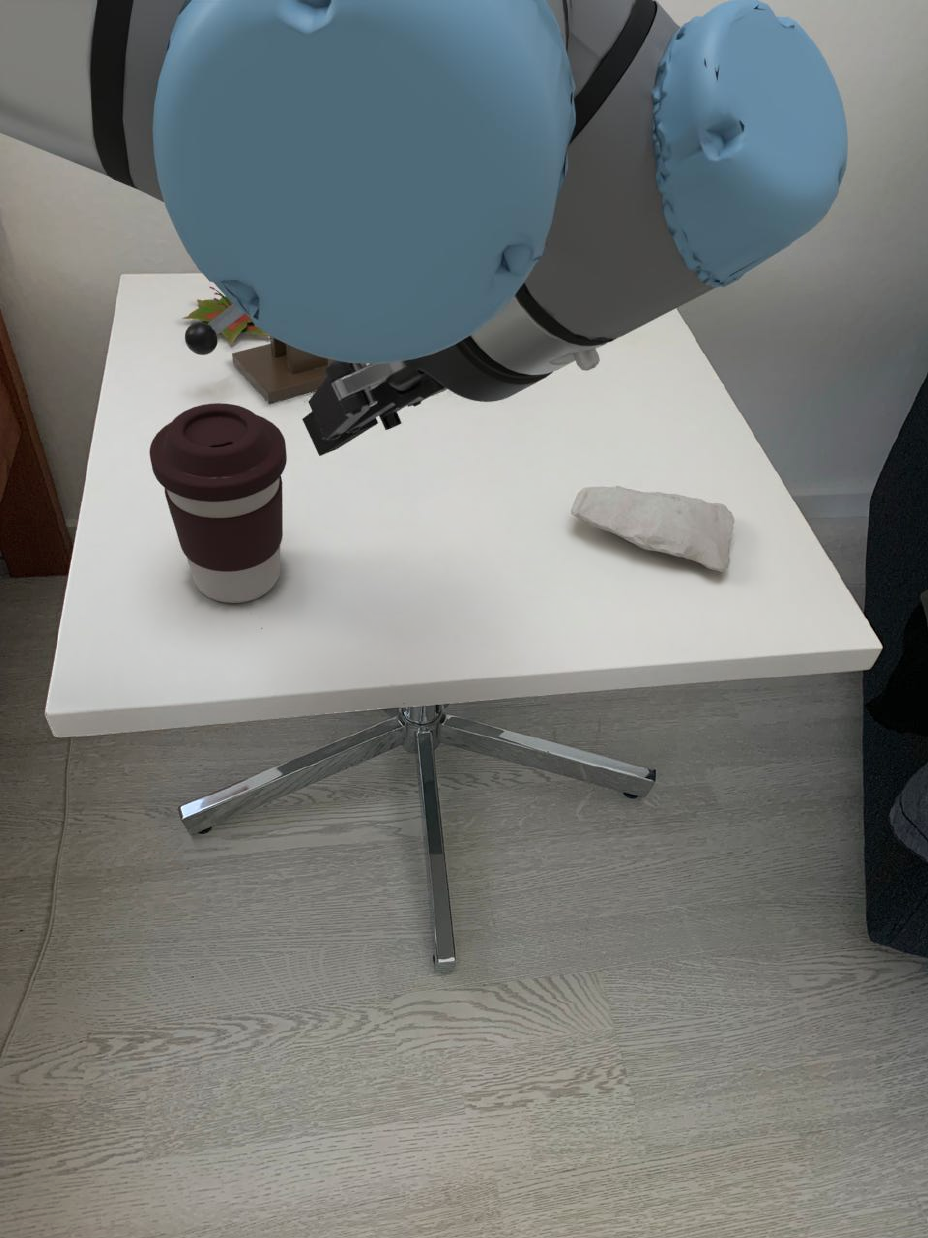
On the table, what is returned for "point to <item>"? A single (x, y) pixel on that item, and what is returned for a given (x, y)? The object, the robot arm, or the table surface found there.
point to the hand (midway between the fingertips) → (320, 433)
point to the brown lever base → (281, 370)
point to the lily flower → (216, 307)
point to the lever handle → (210, 331)
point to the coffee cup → (224, 497)
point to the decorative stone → (661, 522)
